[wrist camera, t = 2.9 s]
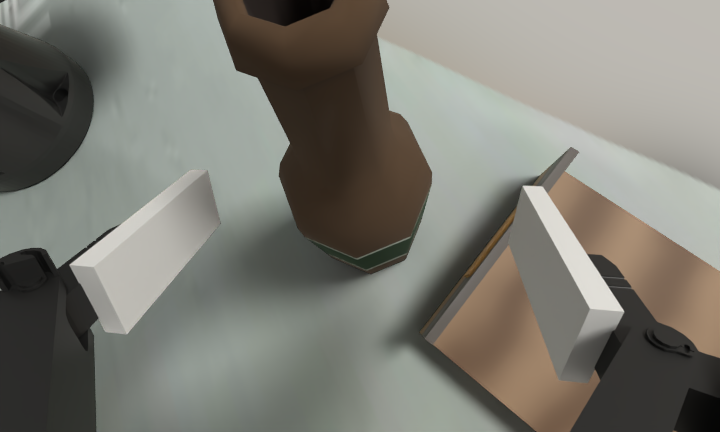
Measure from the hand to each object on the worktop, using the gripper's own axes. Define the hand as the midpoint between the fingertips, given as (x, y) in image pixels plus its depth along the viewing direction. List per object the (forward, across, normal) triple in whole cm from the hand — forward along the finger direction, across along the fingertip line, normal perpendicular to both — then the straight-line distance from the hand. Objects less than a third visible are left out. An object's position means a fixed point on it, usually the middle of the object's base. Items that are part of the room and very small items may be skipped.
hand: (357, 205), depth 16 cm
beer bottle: (+12, -1, -9) cm, 15 cm away
